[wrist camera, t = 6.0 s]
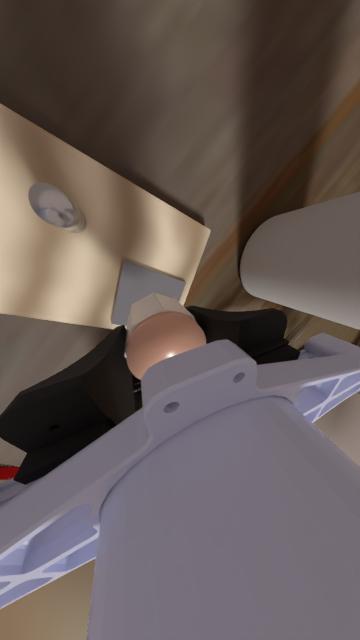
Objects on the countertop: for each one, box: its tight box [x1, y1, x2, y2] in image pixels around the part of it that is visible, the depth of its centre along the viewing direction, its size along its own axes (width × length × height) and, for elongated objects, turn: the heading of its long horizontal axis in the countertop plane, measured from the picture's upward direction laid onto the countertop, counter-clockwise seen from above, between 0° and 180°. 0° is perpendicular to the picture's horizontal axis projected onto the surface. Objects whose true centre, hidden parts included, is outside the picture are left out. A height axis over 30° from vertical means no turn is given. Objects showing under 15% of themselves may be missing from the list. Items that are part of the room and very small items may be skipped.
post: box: [28, 182, 86, 233], centre depth 11 cm, size 2×2×4 cm
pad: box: [111, 261, 186, 326], centre depth 18 cm, size 8×8×1 cm
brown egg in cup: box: [124, 293, 206, 380], centre depth 10 cm, size 5×5×5 cm
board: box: [0, 104, 211, 330], centre depth 15 cm, size 20×16×2 cm
